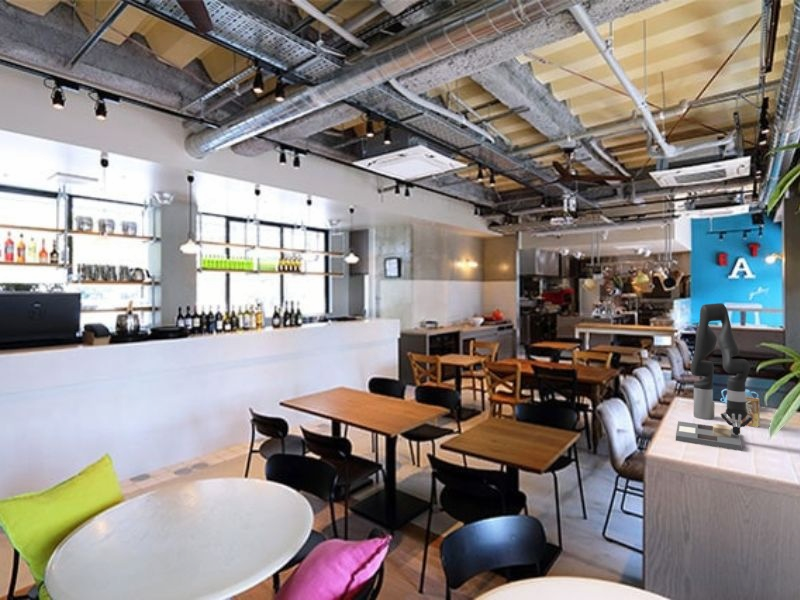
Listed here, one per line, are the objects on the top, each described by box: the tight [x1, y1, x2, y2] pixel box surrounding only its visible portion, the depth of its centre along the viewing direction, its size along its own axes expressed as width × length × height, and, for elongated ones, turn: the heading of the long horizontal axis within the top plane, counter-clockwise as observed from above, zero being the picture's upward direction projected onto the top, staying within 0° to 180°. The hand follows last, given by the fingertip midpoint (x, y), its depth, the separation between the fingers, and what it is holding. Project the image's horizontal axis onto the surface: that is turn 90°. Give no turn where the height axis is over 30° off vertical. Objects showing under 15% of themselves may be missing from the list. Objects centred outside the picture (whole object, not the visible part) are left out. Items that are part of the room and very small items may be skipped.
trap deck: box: [675, 420, 743, 451], centre depth 223 cm, size 26×28×2 cm
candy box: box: [741, 397, 761, 428], centre depth 241 cm, size 9×4×15 cm, turn 44°
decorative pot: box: [720, 388, 760, 405], centre depth 275 cm, size 16×16×14 cm
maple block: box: [712, 423, 732, 438], centre depth 219 cm, size 7×7×4 cm
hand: (736, 434), depth 216 cm, fingers closed
